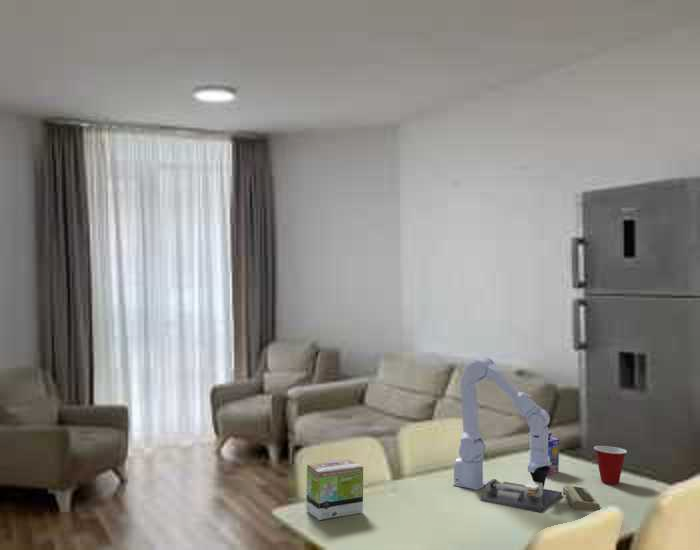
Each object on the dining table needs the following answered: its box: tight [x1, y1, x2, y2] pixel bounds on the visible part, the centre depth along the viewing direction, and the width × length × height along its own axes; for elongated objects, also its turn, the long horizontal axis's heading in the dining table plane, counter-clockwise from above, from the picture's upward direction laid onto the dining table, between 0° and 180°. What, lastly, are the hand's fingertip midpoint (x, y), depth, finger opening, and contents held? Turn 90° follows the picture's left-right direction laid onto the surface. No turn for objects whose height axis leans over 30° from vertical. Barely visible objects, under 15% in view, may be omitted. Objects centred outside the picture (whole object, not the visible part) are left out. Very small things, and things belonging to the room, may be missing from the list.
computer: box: [562, 485, 601, 511], centre depth 228 cm, size 16×8×3 cm, turn 175°
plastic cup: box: [593, 445, 628, 486], centre depth 247 cm, size 11×11×12 cm
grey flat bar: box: [492, 480, 539, 494], centre depth 230 cm, size 15×4×1 cm, turn 54°
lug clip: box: [524, 480, 544, 497], centre depth 229 cm, size 4×6×4 cm, turn 144°
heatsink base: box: [480, 478, 563, 513], centre depth 231 cm, size 20×19×4 cm
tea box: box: [305, 458, 364, 521], centre depth 219 cm, size 15×10×15 cm, turn 117°
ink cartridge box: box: [546, 432, 560, 475], centre depth 259 cm, size 10×6×14 cm, turn 125°
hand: (539, 489), depth 233 cm, fingers closed
